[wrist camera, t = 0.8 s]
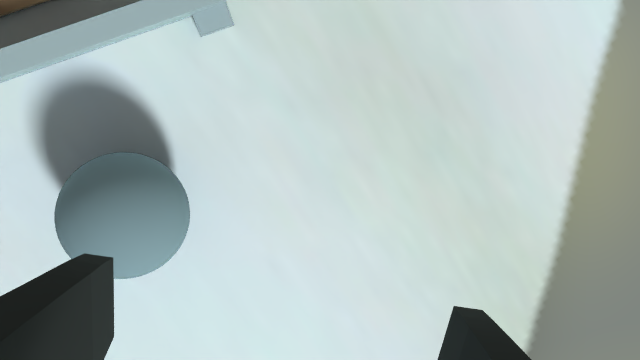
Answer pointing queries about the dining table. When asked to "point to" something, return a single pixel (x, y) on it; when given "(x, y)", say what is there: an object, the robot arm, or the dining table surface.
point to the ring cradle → (16, 5)
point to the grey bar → (109, 32)
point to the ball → (123, 213)
